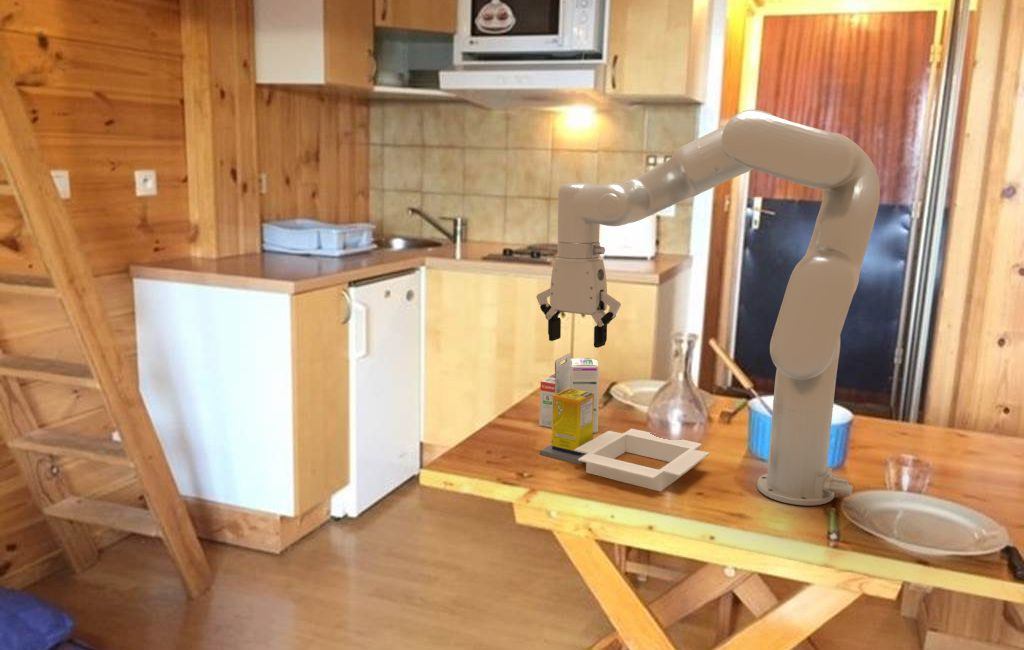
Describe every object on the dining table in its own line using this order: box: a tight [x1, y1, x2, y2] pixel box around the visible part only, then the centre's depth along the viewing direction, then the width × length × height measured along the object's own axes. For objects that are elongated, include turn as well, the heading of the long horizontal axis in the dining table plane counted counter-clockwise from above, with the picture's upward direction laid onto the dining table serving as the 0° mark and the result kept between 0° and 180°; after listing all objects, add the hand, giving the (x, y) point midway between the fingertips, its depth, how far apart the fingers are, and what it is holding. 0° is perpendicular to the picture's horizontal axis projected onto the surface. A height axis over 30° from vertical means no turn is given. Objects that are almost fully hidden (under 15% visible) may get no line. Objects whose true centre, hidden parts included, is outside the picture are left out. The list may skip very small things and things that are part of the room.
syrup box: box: [570, 357, 600, 434], centre depth 176 cm, size 6×6×14 cm
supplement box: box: [551, 388, 594, 455], centre depth 162 cm, size 6×6×11 cm
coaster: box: [539, 443, 586, 465], centre depth 164 cm, size 9×9×1 cm
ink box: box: [538, 352, 572, 429], centre depth 180 cm, size 4×8×15 cm, turn 152°
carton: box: [574, 428, 710, 492], centre depth 155 cm, size 21×21×4 cm
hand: (576, 342), depth 159 cm, fingers open, 9 cm apart
